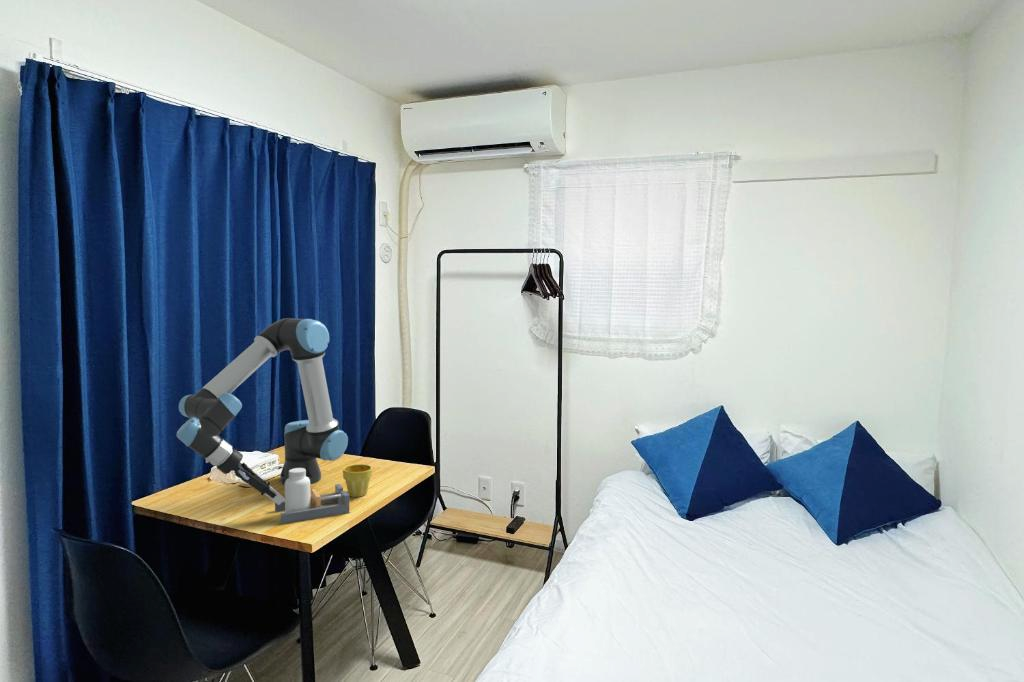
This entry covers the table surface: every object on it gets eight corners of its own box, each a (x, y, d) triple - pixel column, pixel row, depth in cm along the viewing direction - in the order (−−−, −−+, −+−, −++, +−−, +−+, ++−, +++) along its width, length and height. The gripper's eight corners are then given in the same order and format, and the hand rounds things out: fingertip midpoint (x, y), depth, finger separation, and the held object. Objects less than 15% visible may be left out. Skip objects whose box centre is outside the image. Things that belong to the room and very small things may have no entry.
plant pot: (339, 498, 210) (339, 472, 210) (347, 489, 221) (347, 463, 220) (368, 499, 211) (368, 472, 210) (374, 489, 221) (374, 464, 220)
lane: (281, 524, 187) (281, 505, 186) (274, 510, 198) (274, 493, 197) (349, 512, 197) (349, 495, 197) (339, 500, 209) (339, 483, 208)
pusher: (316, 514, 194) (316, 497, 194) (311, 506, 202) (311, 489, 201) (347, 509, 199) (348, 492, 199) (341, 501, 207) (341, 484, 206)
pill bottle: (288, 509, 199) (288, 466, 197) (313, 509, 199) (313, 466, 198) (281, 519, 191) (281, 473, 189) (307, 518, 191) (306, 473, 190)
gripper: (213, 461, 187) (270, 504, 197) (216, 472, 176) (276, 517, 186) (231, 443, 189) (286, 486, 199) (235, 453, 178) (293, 498, 188)
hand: (281, 501), depth 192 cm, fingers closed
